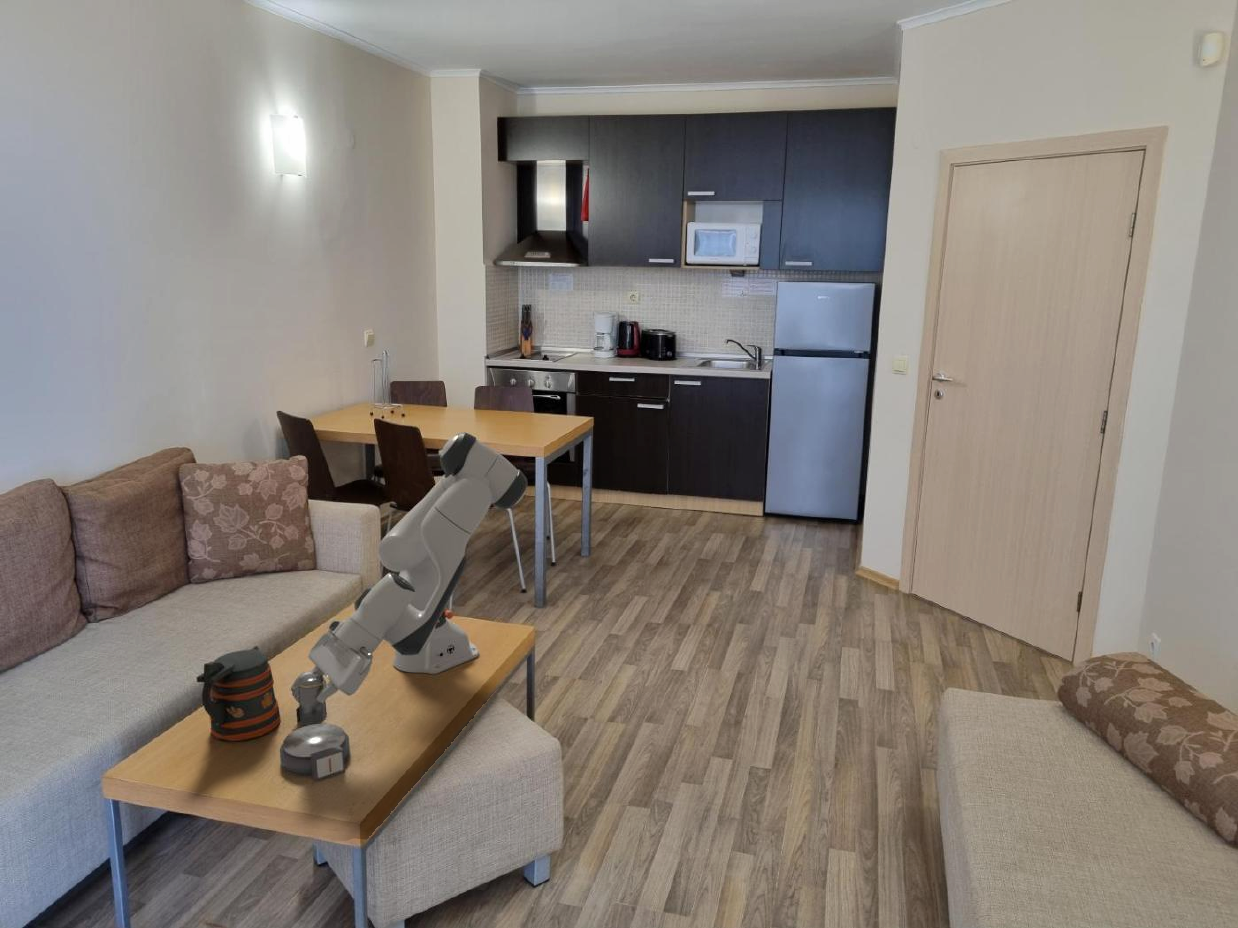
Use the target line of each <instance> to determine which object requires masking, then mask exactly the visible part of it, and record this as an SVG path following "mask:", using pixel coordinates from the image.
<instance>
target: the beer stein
mask: <svg viewBox="0 0 1238 928" xmlns="http://www.w3.org/2000/svg"><path fill="white" fill-rule="evenodd" d="M274 681H275V680H274V677H273V673H272V669H271V664H270V663H269V661H268V657H267V655H266V654H265V653H264V652H262V651H260V650H259V647H258V645H255V646H254V647H253V648H251V649H245V650H237V651H232V652H231V651H230V652H228V653H225V654H223V655H221V656H219V657H217V658H216V659H214V660H213V661H210V662H205V663H204V664H203V673H202V674H199V675H198V676H196V682H197V683H203V687H202V692H201V701H202V705H203V708H204V710H205V712H206V713H207V715H208V716H209V719H210V731H211V734H212V735H213V737H215V738H216V739H217V740H218V739H219V740H221V741H225V742H229V741H230V742H240V741H249V740H253V739H256V738H259V737H261V736H264V735H266V734H268V733H270V732H271V731H273V730H274V729H275V728H277V726H278V725H279V723H280V722H281V717H282V716H281V713H280V712H281V711H280V707H279V702H278V700H277V698H276V695H275V688H274V683H275V682H274Z"/></svg>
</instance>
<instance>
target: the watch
mask: <svg viewBox="0 0 1238 928" xmlns="http://www.w3.org/2000/svg"><path fill="white" fill-rule="evenodd" d="M311 673H312V670H307V671H306V672H305V671H303V672H301V673H300V674H299V675H298V677H297V678H296V679H295V680H294V682H293V684H292V685H291V687H290V691H291V696H293V698H294V699H295V701H296V702H297V703H298V704H299V692H298V679H299V678H300V677H302V676H305V675H309V674H311ZM323 680H324V682H323V685H324V689H325V688H326V687H327V684H328V683H327V682H326V680H325V677H323ZM326 701H327V700H326ZM326 701H325V702H324V703H325V713H327V703H326ZM295 710H296V712H295V713H296V721H297V723H301V721H300V708H299V706H298V707H296V709H295Z"/></svg>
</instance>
